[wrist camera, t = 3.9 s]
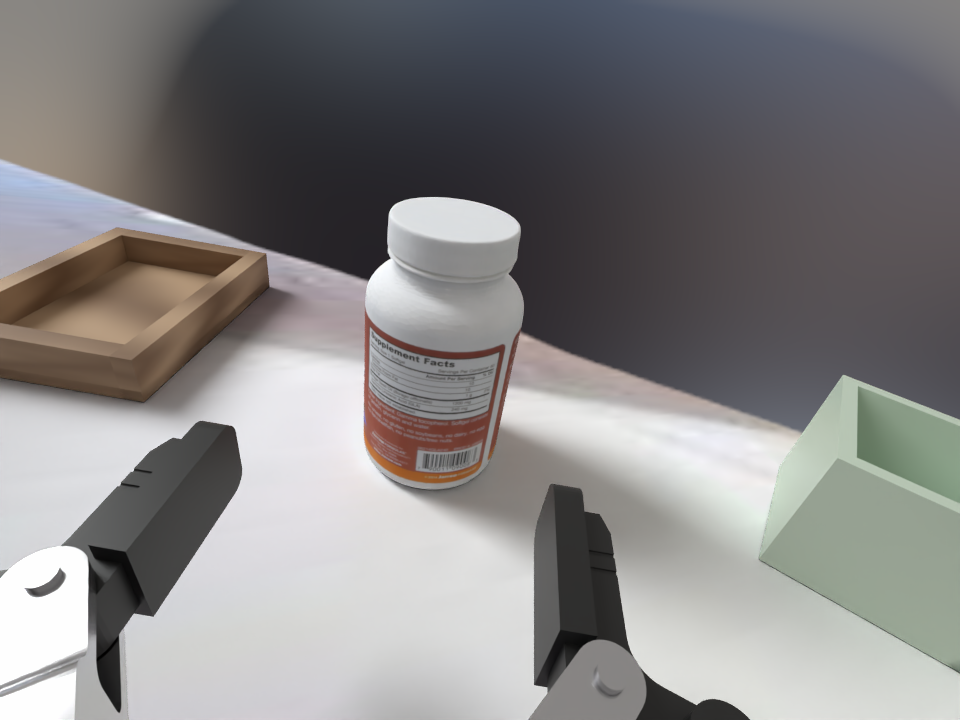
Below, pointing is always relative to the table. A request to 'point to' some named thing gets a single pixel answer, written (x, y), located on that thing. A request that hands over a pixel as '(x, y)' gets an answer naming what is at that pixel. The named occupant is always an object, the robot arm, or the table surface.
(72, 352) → the tray
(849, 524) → the pale green bin
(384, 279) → the pill bottle
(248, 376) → the table surface
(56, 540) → the table surface
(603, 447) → the table surface
